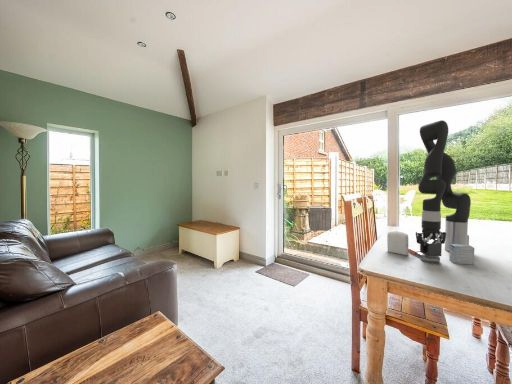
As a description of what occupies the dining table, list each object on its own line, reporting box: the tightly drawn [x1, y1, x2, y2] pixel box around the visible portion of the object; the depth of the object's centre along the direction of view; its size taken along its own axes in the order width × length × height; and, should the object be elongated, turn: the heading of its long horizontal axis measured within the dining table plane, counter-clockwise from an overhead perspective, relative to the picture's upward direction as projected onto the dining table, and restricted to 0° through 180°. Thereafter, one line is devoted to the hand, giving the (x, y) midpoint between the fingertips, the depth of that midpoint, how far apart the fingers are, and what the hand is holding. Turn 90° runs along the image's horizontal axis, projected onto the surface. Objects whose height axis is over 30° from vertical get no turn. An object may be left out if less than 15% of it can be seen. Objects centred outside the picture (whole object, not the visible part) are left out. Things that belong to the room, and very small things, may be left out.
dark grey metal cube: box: [419, 239, 443, 257], centre depth 109 cm, size 6×6×6 cm
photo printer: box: [387, 230, 409, 256], centre depth 122 cm, size 10×4×12 cm, turn 39°
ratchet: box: [408, 247, 441, 265], centre depth 115 cm, size 8×18×6 cm, turn 0°
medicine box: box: [448, 244, 475, 265], centre depth 106 cm, size 8×4×9 cm, turn 71°
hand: (430, 251), depth 109 cm, fingers closed on dark grey metal cube, 6 cm apart
